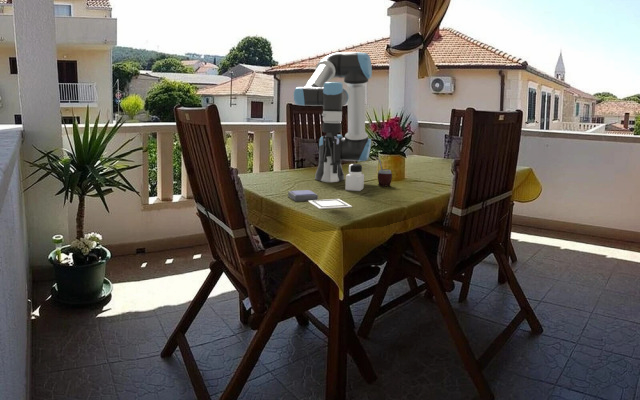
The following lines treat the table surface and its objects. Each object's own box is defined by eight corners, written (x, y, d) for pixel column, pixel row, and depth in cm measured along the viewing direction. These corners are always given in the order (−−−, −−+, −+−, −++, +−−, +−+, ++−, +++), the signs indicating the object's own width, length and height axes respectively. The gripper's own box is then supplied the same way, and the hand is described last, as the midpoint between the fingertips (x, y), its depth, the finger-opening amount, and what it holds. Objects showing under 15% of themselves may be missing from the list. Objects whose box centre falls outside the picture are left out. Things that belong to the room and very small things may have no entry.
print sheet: (339, 199, 209) (339, 198, 209) (352, 207, 196) (352, 205, 196) (307, 201, 204) (308, 200, 204) (319, 209, 192) (319, 207, 191)
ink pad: (310, 195, 217) (310, 189, 217) (317, 199, 208) (317, 194, 207) (288, 196, 214) (288, 190, 213) (295, 201, 205) (295, 195, 204)
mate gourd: (393, 185, 245) (394, 155, 242) (388, 188, 238) (390, 157, 235) (378, 183, 248) (380, 154, 245) (373, 186, 242) (375, 156, 238)
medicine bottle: (363, 188, 235) (364, 163, 232) (359, 191, 228) (360, 165, 226) (349, 187, 237) (350, 162, 235) (345, 190, 231) (346, 164, 228)
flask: (327, 179, 203) (328, 155, 201) (342, 181, 199) (343, 156, 197) (317, 181, 197) (318, 156, 195) (332, 183, 193) (333, 158, 191)
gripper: (314, 120, 201) (313, 176, 206) (332, 123, 183) (330, 184, 188) (331, 120, 204) (330, 175, 208) (350, 123, 185) (348, 183, 190)
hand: (330, 179), depth 198 cm, fingers closed on flask, 7 cm apart
